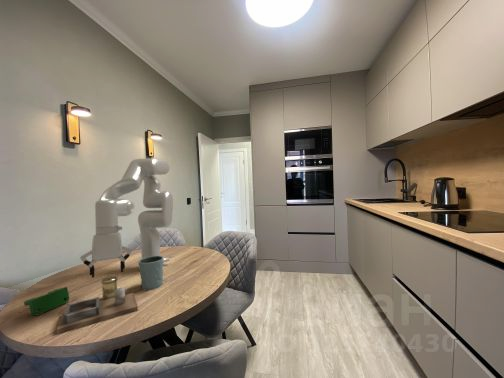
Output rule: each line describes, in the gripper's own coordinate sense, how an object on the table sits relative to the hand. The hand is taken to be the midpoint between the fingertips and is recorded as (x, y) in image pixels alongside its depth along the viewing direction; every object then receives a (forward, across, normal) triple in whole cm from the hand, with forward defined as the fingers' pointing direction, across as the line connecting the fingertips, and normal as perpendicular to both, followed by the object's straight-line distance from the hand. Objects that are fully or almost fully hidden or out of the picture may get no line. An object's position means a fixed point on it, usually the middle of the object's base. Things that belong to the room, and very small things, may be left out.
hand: (107, 273), depth 90 cm
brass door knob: (+10, -1, -1) cm, 10 cm away
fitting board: (+10, +2, +10) cm, 15 cm away
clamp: (+11, +19, -7) cm, 23 cm away
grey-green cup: (+10, -17, -3) cm, 20 cm away
